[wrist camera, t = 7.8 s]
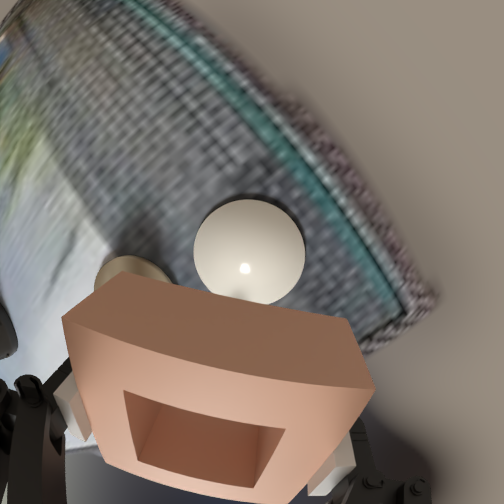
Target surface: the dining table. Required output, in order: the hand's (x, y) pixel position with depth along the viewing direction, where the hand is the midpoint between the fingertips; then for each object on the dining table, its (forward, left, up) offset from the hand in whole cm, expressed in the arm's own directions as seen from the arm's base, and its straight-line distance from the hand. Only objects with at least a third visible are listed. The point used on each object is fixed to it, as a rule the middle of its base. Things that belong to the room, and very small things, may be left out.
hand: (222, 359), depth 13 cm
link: (0, 0, +2) cm, 2 cm away
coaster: (0, 0, -18) cm, 18 cm away
